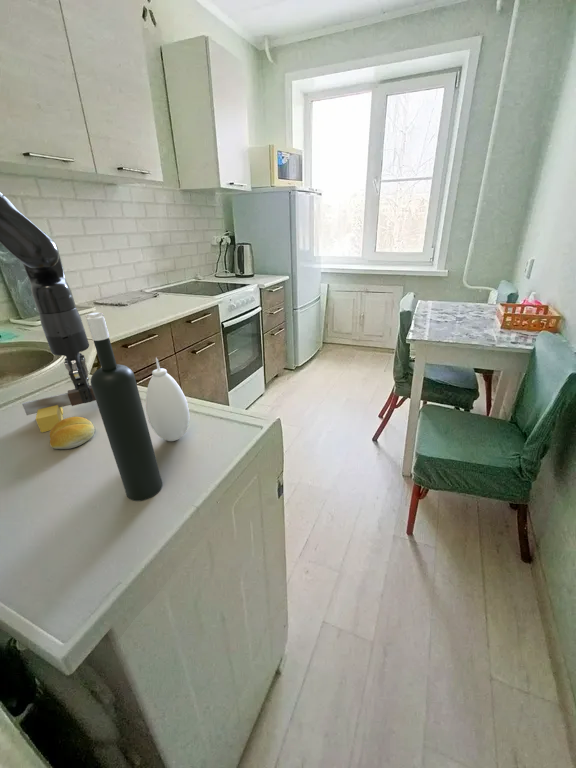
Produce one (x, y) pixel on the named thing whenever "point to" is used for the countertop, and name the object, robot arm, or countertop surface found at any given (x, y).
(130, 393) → the wine bottle
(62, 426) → the bread roll
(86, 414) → the countertop surface
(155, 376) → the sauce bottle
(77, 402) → the knife
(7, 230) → the robot arm
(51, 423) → the butter block
